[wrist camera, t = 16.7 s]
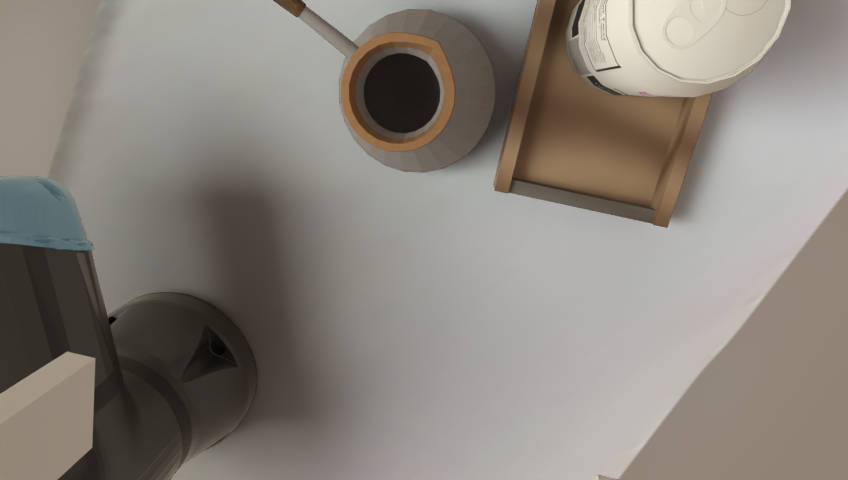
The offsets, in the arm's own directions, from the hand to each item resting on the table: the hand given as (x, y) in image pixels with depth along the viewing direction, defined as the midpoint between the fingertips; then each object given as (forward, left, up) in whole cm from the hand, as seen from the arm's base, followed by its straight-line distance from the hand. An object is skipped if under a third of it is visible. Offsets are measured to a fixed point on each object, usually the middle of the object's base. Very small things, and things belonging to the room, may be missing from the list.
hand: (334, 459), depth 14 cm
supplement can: (+11, +15, -31) cm, 36 cm away
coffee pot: (-7, +11, -32) cm, 34 cm away
